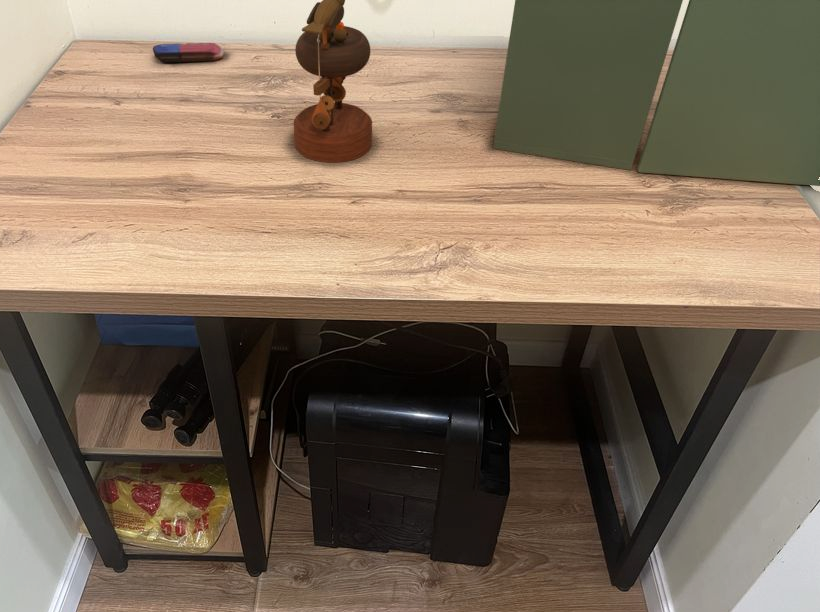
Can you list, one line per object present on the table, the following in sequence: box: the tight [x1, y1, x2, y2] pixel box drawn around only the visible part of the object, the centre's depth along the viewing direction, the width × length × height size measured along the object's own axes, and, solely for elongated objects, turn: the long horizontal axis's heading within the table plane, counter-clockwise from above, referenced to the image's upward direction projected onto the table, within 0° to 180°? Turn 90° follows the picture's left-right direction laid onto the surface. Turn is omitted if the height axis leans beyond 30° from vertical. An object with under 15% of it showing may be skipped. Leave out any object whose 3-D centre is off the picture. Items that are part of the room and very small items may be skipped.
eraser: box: [152, 42, 225, 63], centre depth 117 cm, size 11×4×2 cm, turn 99°
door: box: [636, 0, 820, 187], centre depth 80 cm, size 7×26×24 cm, turn 82°
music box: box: [293, 0, 373, 163], centre depth 91 cm, size 15×11×20 cm
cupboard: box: [492, 0, 684, 171], centre depth 95 cm, size 18×26×24 cm
